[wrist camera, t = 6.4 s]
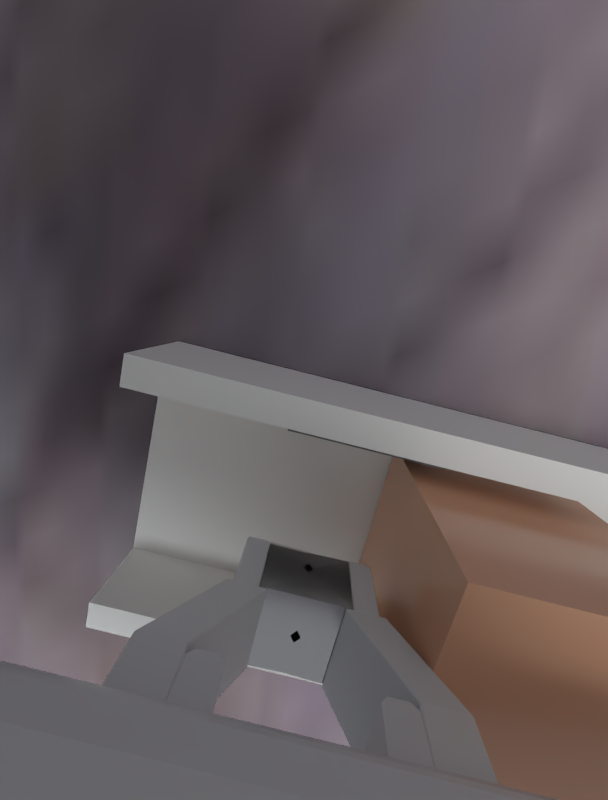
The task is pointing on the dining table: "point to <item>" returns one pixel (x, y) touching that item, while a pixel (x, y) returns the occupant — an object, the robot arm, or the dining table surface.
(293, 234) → the dining table surface
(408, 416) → the chute
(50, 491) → the dining table surface
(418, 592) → the block
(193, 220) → the dining table surface
